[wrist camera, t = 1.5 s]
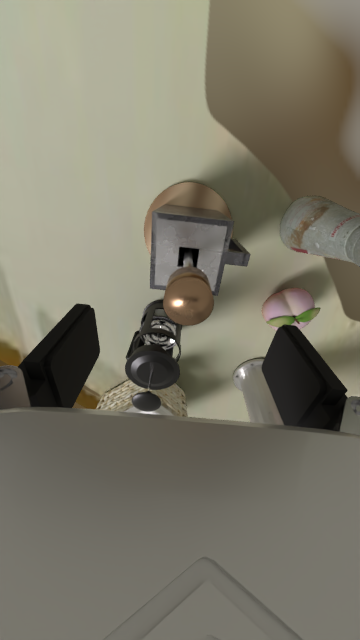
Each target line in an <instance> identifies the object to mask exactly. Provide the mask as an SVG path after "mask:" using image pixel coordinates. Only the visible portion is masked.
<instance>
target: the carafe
mask: <svg viewBox="0 0 360 640" xmlns="http://www.w3.org/2000/svg"><path fill="white" fill-rule="evenodd" d="M233 224H234V221H233V220H231V219H230V218H228V217H227V216H225V215H224V214H222V213H221V212H219V211H218V210H211V209H203V208H194V207H186V206H178V205H169V204H164V205H162V206H161V207H159V208H157V209H156V210H154V211H152V230H151V267H150V288H151V289H160V290H166V286H167V282H168V279H169V277H170V275H171V274H172V273H173V272H174V271H176V270H177V269H179V268H182V267H184V266H181V265H179V264H178V255H179V247H188V248H197V249H199V253H198V260H197V265H195V266H193V267H195V268H198V269H200V270H202V271H203V272H204V273H205V274H206V276H207V277H208V279H209V282H210V286H211V291H212V295H216V296H218V292H219V288H220V283H221V279H222V274H223V270H224V265H225V264H229V265H238V266H247V265H248V261H249V258H250V253H249V252H248V251H247V250H246V249H245V248H244V247H243V246H242V245H241V244H240V243H239V242H238V241H237V240H236V239H233V238H231V233H232V229H233ZM228 249H230V250H228Z"/></svg>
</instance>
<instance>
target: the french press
mask: <svg viewBox="0 0 360 640" xmlns="http://www.w3.org/2000/svg"><path fill="white" fill-rule="evenodd" d="M155 309H164V306H163V300H158V301H154V302H152V303H150V304H149V305H148V306H147V307H146V308H145V309H144V312H143V317H142V321H141V327H140V330H139V331H136V332H135V334H134V337H133V339H132V342H131V345H130V347H129V350H128V353H127V355H126V359H127V362H126V365H125V371H126V374H127V376H128V378H129V379H130V380H131V381H132V382H133V383H134V384H136V385H137V386H140V387H142V388H145V389H148V391H146V392H140V393H137V394H135V395H134V396H133V397H132V404H133V406H134V407H135V408H137V409H139V410H141V411H145V412H151V411H155V410H157V409H159V408H160V406H161V399H160V398H159V397H158V396H157V395H155V394H153V393H151V392H150V390H161V389H165V388H168V387H170V386H172V385H173V384H174V383H175V382H176V381H177V380H178V378H179V375H180V368H179V365H178V363H177V362H178V360H179V358H180V355H181V345H180V337H181V329H182V325H181V324H178V323H175V322H174V321H173V320H171V319H169V318H166V317H163V316H154V312H155ZM153 316H154V317H153ZM144 344H146V345H144ZM176 344H177V345H178V347H179V354H178V356H177V357H176V358H175V359H174V358H173V357H172V355H173V346H175V345H176ZM165 350H166V351H165Z"/></svg>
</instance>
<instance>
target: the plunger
mask: <svg viewBox="0 0 360 640" xmlns="http://www.w3.org/2000/svg"><path fill="white" fill-rule="evenodd" d="M198 253H199V249H197V248H188V247H179V255H178V264H179V265H181V266H184V267H182V268H179V269H177V270H176V271H174V272H173V273H172V274H171V275H170V277H169V279H168V282H167V286H166V290H165V295H164V300H163V306H164V310H165V312H166V314H167V316H168V317H169V318H170V319H171V320H173V321H174V322H176V323H178V324H181V325H195V324H199V323H201V322H203V321H204V320H206V319H207V318H208V317H209V315H210V314H211V312H212V310H213V306H214V300H213V295H212V291H211V286H210V282H209V279H208V277H207V276H206V274H205V273H204V272H203V271H202V270H200V269H198V268H195V267H193V266H195V265H197V260H198Z"/></svg>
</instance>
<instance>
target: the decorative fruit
mask: <svg viewBox="0 0 360 640" xmlns="http://www.w3.org/2000/svg"><path fill="white" fill-rule="evenodd" d="M319 311H320V308H315V305H314V301H313V298H312V297H311V295H310V294H309V293H308V292H307V291H306V290H304V289H300V288H290V289H285V290H282V291H281V292H279V293H275V294H273V295H271V296H270V297H269V298H268V299H267V300H266V301H265V302H264V304H263V306H262V315H263V317H264V319H265V321H266V322H267V323H268V324H269V326H270V327H271V328H273V329H274V330H276V331H277V329H278V328H279V327H281V326H282V325H284V324H286V325H295V326H297V327H298V328H299V329H301V328H303V327H305V326H306V325H307V324H308V323H309V322H310V321H311V320H312V319H313V318H314V317H315V316H316V315H317V314H318V313H319Z"/></svg>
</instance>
